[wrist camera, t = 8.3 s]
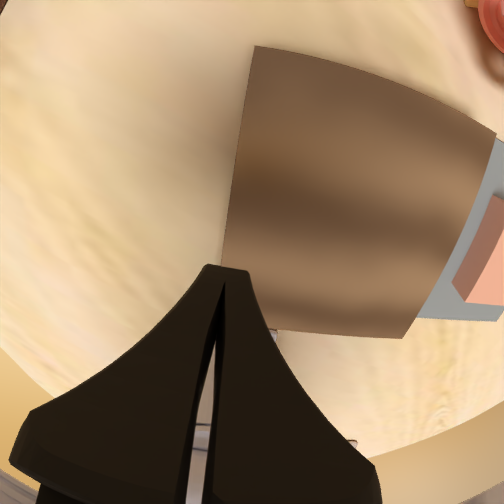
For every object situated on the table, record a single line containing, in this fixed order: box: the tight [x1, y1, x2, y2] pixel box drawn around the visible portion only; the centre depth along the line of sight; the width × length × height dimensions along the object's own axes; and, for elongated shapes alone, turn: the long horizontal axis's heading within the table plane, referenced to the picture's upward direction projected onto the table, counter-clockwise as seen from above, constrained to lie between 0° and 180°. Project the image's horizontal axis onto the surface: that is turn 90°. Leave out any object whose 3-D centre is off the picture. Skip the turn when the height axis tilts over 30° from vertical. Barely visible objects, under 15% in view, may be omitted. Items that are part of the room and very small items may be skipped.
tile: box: [451, 195, 504, 306], centre depth 17 cm, size 8×6×2 cm
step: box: [221, 46, 497, 339], centre depth 16 cm, size 16×14×3 cm
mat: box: [417, 138, 504, 321], centre depth 18 cm, size 16×14×1 cm
